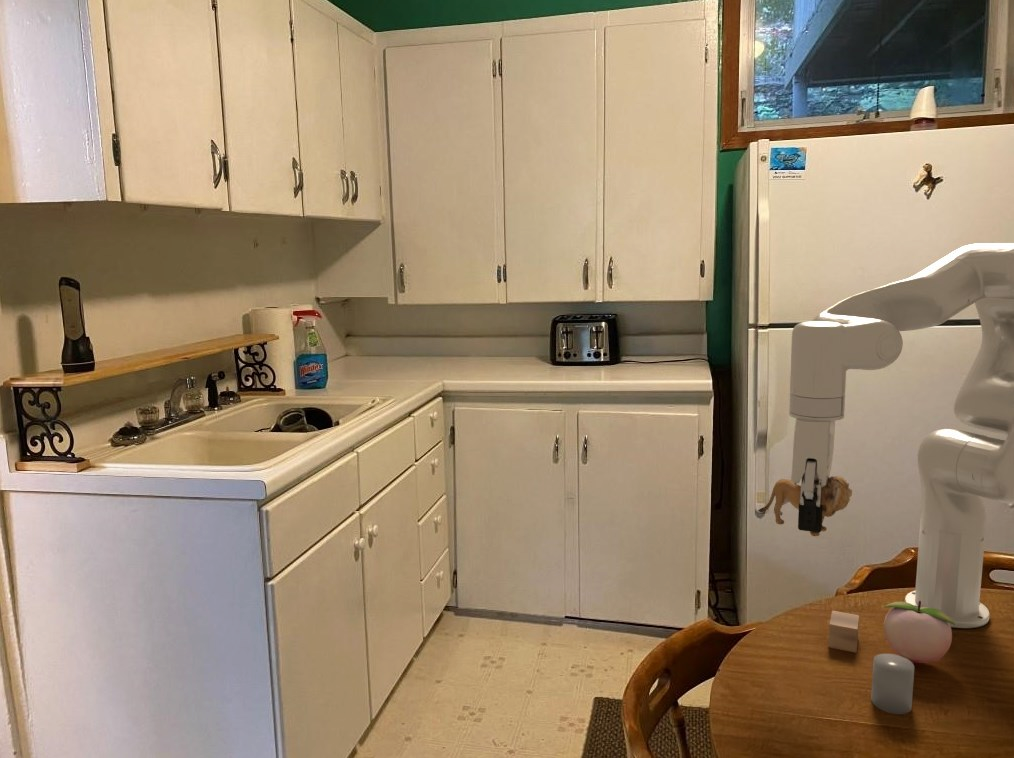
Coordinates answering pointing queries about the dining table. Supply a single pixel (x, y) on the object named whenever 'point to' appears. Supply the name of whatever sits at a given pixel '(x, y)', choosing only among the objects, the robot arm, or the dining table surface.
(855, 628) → the pale beige block
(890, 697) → the light grey cylinder
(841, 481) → the lion figurine
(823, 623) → the dining table surface
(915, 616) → the decorative fruit
